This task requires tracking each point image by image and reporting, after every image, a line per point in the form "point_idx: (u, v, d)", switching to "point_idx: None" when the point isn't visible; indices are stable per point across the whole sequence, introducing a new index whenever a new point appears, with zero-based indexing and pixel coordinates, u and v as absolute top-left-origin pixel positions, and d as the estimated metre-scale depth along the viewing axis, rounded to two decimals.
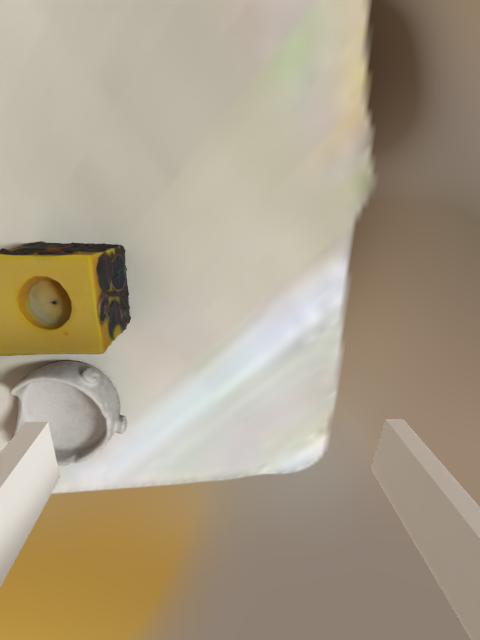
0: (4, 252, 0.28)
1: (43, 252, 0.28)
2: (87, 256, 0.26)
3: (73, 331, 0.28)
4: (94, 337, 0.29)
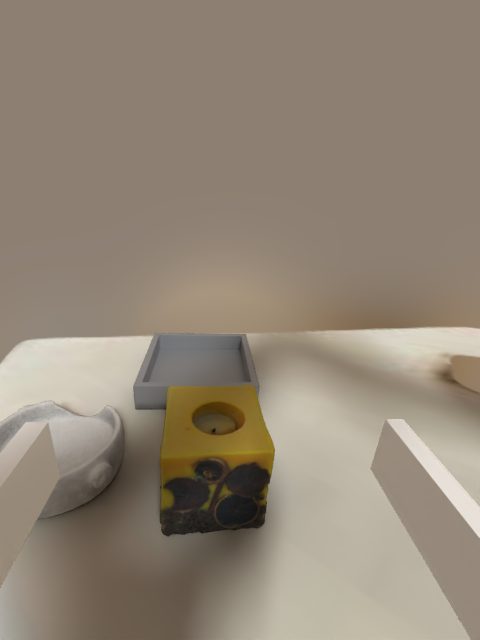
0: None
1: None
2: (273, 449, 0.26)
3: (189, 434, 0.27)
4: (181, 451, 0.25)
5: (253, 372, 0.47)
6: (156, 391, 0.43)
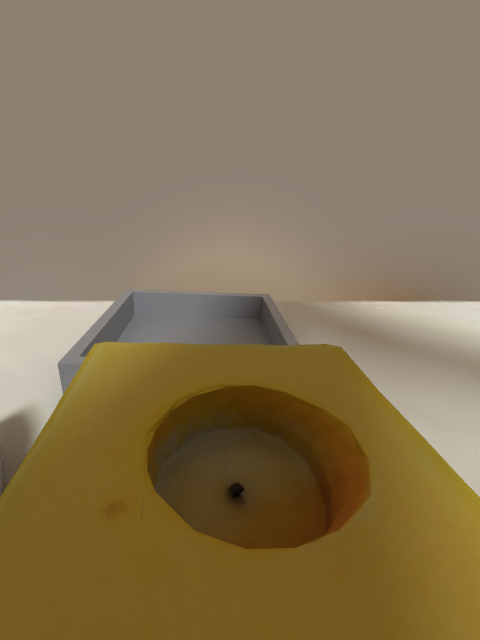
0: None
1: None
2: None
3: (118, 550, 0.05)
4: None
5: (294, 344, 0.26)
6: None
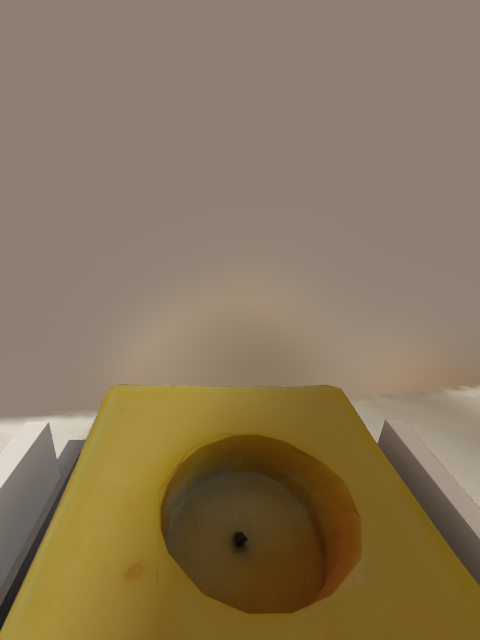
0: None
1: None
2: None
3: (137, 615, 0.06)
4: None
5: None
6: None
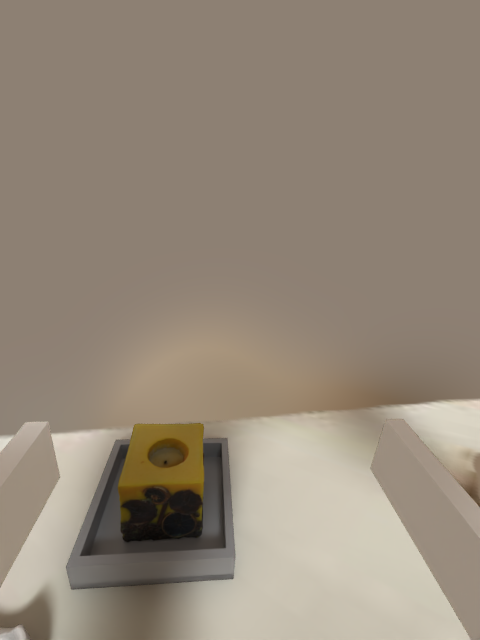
0: None
1: (202, 459, 0.40)
2: (203, 480, 0.35)
3: (143, 467, 0.36)
4: (134, 481, 0.34)
5: (230, 524, 0.37)
6: (98, 570, 0.32)
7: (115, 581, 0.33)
